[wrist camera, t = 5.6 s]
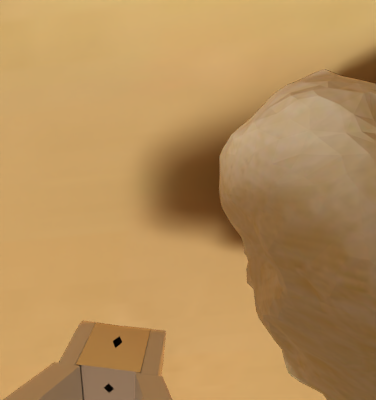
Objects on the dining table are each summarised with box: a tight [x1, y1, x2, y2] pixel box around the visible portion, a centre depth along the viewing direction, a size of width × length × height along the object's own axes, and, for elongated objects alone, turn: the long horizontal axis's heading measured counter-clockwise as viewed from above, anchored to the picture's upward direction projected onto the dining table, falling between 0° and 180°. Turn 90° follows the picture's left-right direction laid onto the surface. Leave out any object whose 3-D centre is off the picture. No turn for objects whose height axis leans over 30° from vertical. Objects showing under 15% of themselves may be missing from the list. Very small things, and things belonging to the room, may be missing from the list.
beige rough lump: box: [219, 70, 376, 400], centre depth 11 cm, size 15×7×15 cm
